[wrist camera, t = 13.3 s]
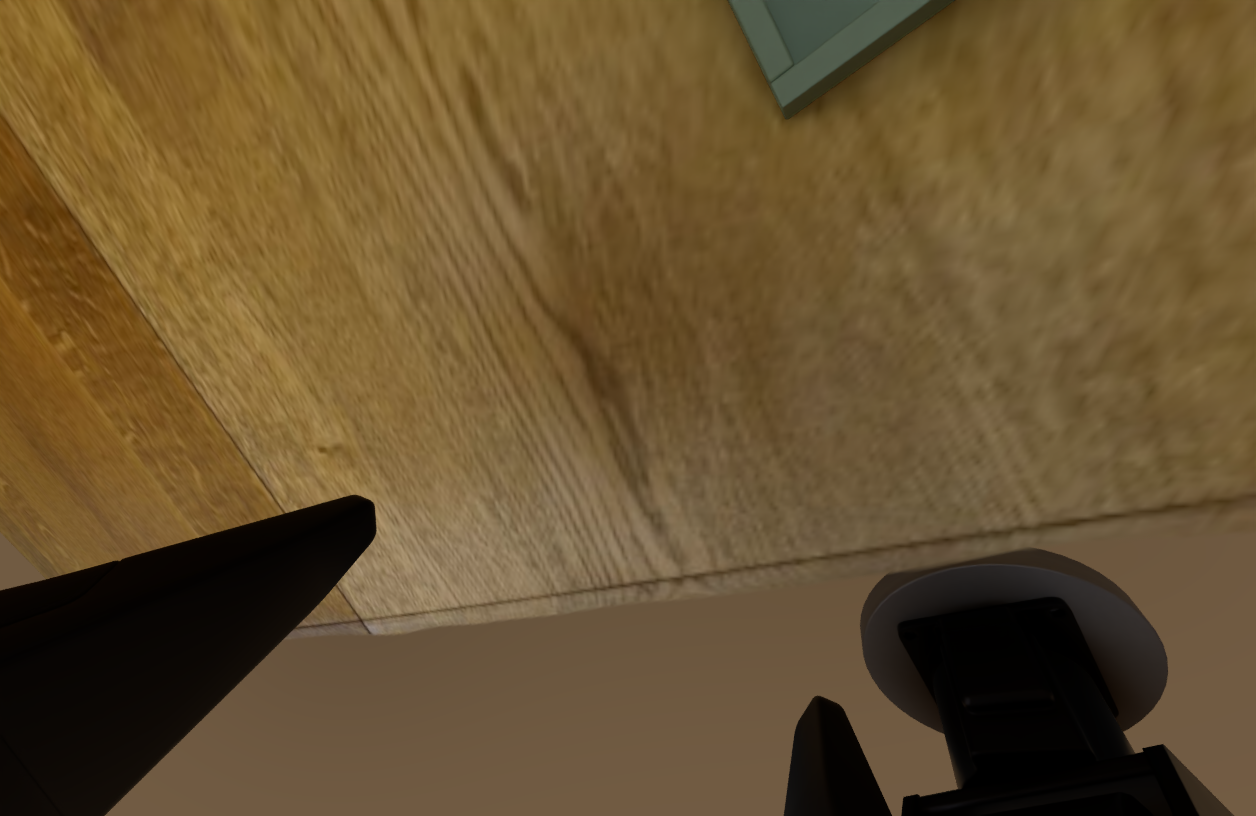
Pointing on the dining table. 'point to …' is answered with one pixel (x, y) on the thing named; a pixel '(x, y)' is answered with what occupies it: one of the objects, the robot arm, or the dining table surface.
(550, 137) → the dining table surface
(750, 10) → the tray
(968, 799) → the robot arm
